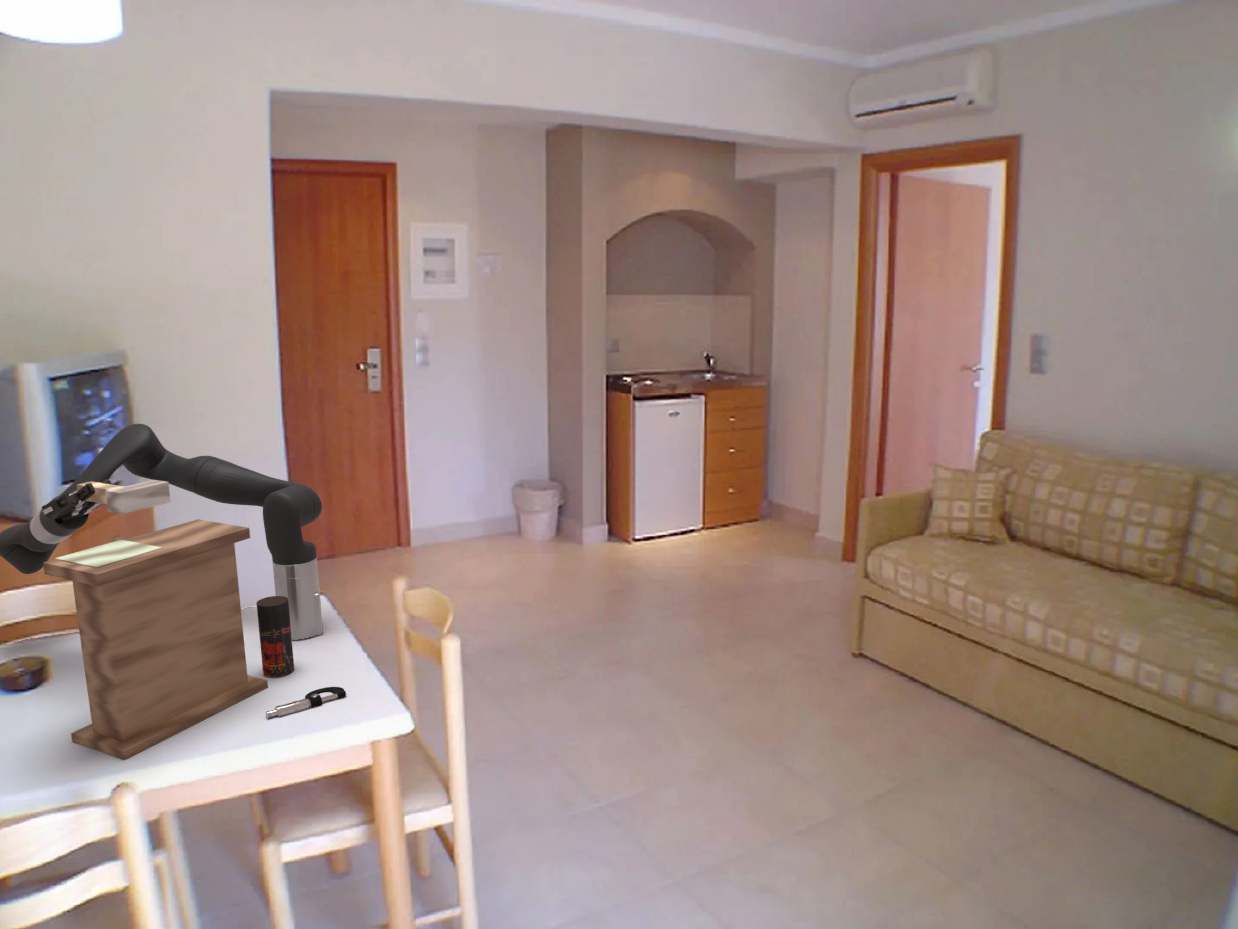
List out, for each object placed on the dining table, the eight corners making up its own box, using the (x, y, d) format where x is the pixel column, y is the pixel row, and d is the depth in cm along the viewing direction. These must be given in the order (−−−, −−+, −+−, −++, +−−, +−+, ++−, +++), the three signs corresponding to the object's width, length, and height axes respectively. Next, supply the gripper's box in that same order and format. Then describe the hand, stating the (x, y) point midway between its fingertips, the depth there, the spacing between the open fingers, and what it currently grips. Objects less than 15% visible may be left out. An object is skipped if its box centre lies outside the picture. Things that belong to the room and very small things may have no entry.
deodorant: (257, 672, 184) (250, 601, 181) (285, 662, 188) (279, 593, 185) (271, 680, 180) (265, 608, 177) (299, 671, 184) (293, 600, 181)
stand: (68, 740, 158) (42, 561, 151) (214, 673, 184) (197, 518, 177) (125, 760, 151) (100, 574, 144) (267, 687, 177) (252, 527, 170)
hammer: (61, 503, 174) (58, 483, 173) (110, 492, 183) (107, 472, 182) (122, 514, 166) (119, 493, 165) (170, 502, 175) (168, 481, 174)
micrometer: (337, 686, 178) (336, 674, 178) (350, 700, 173) (349, 687, 172) (257, 708, 169) (256, 695, 169) (268, 723, 164) (267, 709, 163)
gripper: (15, 511, 178) (56, 475, 170) (84, 495, 190) (126, 461, 182) (31, 545, 178) (73, 511, 169) (99, 527, 190) (142, 495, 182)
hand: (100, 485), depth 176 cm, fingers closed on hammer, 3 cm apart
